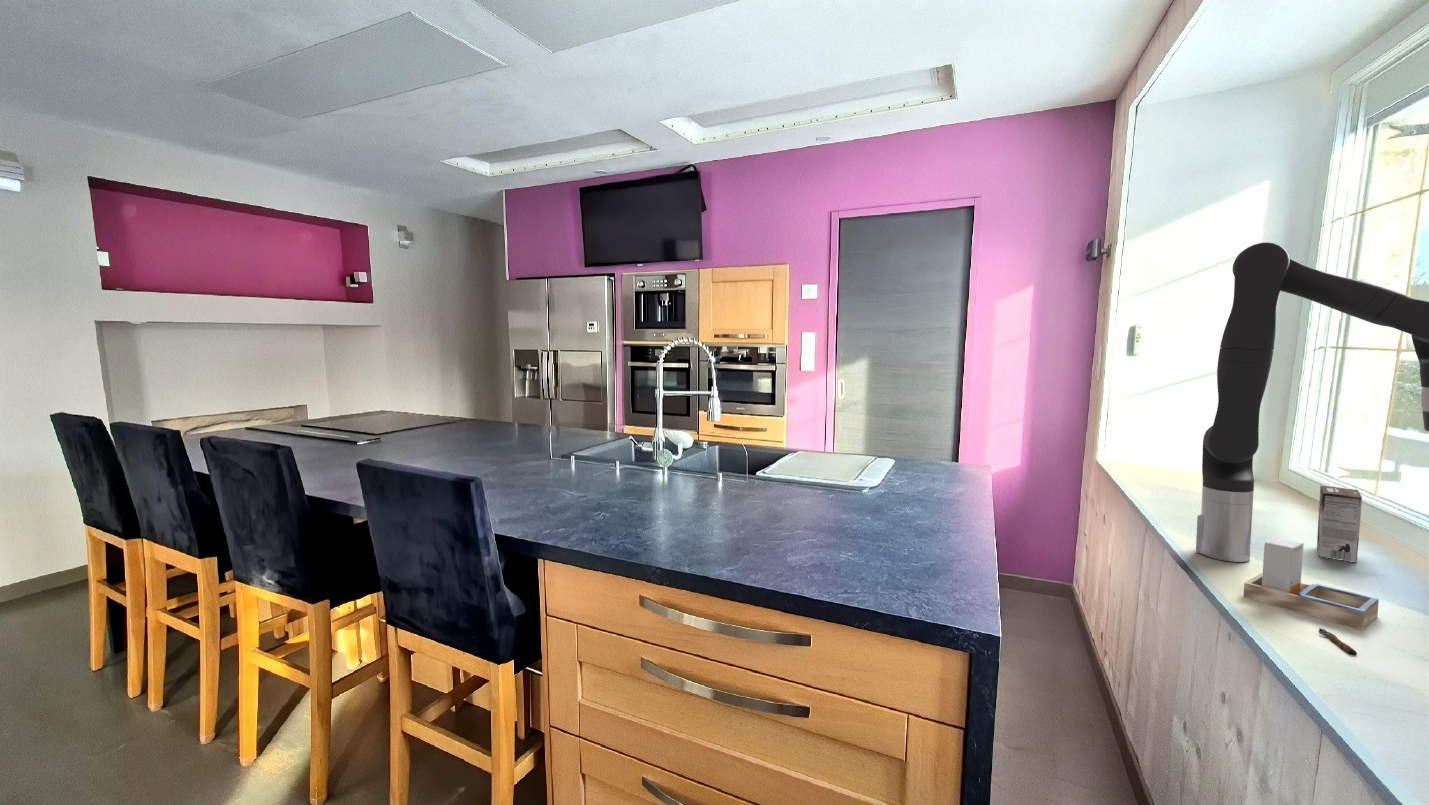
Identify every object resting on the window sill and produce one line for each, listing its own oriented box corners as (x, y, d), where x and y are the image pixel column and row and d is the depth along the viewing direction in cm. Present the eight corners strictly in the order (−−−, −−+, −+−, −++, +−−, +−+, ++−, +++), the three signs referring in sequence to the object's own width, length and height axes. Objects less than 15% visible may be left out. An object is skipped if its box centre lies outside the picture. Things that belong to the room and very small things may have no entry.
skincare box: (1288, 606, 110) (1292, 548, 109) (1260, 598, 114) (1263, 542, 113) (1300, 599, 113) (1304, 542, 112) (1272, 591, 117) (1275, 536, 116)
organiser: (1243, 596, 115) (1244, 580, 115) (1261, 586, 119) (1262, 570, 119) (1362, 629, 101) (1363, 611, 100) (1377, 616, 105) (1378, 598, 105)
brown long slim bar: (1357, 657, 93) (1357, 651, 92) (1337, 654, 94) (1338, 648, 94) (1330, 633, 100) (1330, 627, 100) (1312, 630, 102) (1312, 624, 101)
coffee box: (1315, 547, 141) (1319, 485, 139) (1354, 553, 136) (1358, 489, 135) (1317, 557, 134) (1321, 492, 133) (1357, 563, 130) (1362, 496, 128)
